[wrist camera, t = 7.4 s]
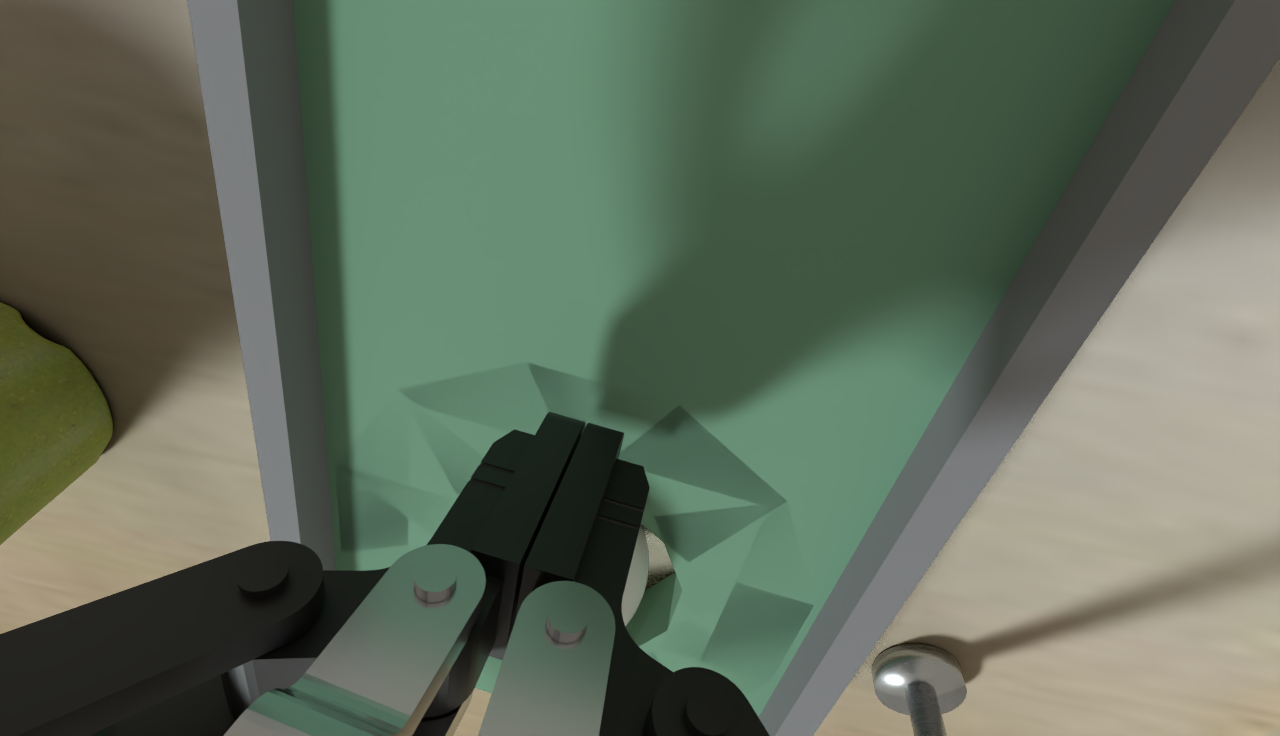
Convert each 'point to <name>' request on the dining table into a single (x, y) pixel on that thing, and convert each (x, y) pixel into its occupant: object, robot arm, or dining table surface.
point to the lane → (696, 268)
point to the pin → (919, 685)
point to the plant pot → (43, 421)
